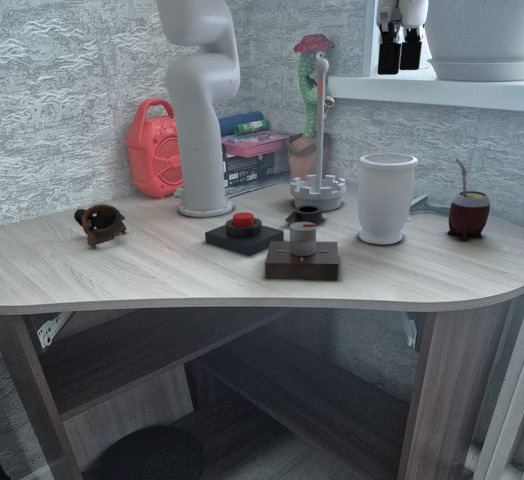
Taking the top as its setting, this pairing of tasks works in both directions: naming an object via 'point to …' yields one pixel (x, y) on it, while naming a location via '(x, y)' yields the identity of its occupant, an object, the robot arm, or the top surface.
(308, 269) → the dial panel
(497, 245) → the top surface
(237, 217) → the button
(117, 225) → the rusty brown ring housing
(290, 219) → the black wing nut
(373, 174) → the jar
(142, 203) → the top surface
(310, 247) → the dial
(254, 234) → the button block
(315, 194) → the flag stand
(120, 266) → the top surface
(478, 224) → the mate gourd
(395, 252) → the top surface
